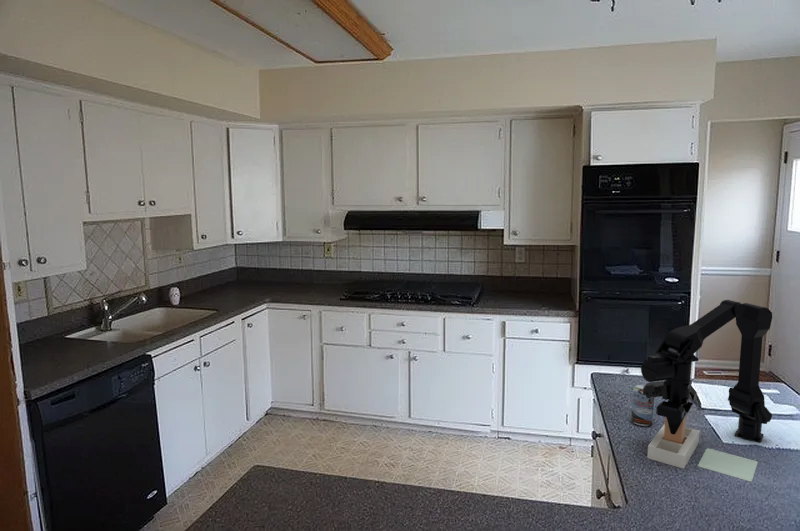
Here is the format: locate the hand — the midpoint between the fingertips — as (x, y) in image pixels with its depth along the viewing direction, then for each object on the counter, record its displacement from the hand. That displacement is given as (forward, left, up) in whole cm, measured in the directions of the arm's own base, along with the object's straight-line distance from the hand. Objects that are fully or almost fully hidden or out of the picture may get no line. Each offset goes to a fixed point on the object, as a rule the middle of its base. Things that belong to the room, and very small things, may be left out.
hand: (675, 430), depth 149 cm
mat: (-1, +13, -6) cm, 14 cm away
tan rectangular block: (0, 0, -4) cm, 4 cm away
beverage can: (-13, -12, -6) cm, 18 cm away
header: (0, 0, -6) cm, 6 cm away
